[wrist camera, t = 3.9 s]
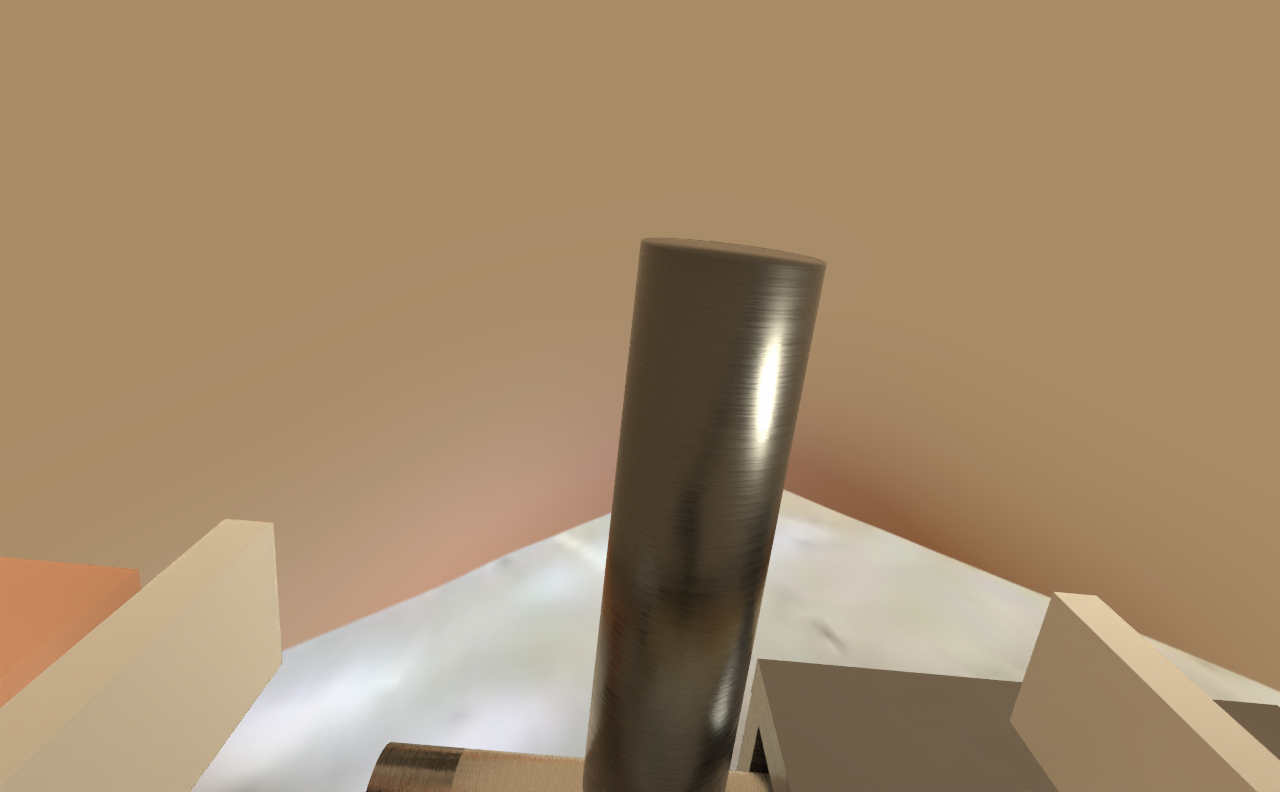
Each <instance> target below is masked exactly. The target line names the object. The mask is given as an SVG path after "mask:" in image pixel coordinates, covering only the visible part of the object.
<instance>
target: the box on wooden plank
mask: <svg viewBox="0 0 1280 792" xmlns="http://www.w3.org/2000/svg"><path fill="white" fill-rule="evenodd" d="M1021 685H1022V682H1012V681H1001V680H989V679H978V678H967V677H956V676H945V675H934V674H923V673H912V672H900V671H889V670H878V669H867V668H856V667H845V666H834V665H823V664H811V663H800V662H789V661H778V660H767V659H757V665H756V670H755V675H754V680H753V685H752V690H751V693H752V695H751V700H750V705H749V710H748V716H747V721H746V726H745V731H744V736H743V741H742V746H741V751H740V756H739V761H738V766H737V771H742V772H754V773H766V774H770V779H771V783H772V788H773V792H1059V791H1058V790H1057V788H1056V787H1055V785H1054V784H1053V783H1052V781H1051V780H1050V778H1049V777H1048V775H1047V774H1046V773H1045V771H1044V770H1043V768H1042V767H1041V765H1040V764H1039V763H1038V761H1037V760H1036V758H1035V757H1034V755H1033V754H1032V752H1031V751H1030V750H1029V748H1028V747H1027V745H1026V744H1025V742H1024V741H1023V740H1022V738H1021V737H1020V735H1019V734H1018V732H1017V731H1016V730H1015V728H1014V727H1013V725H1012V724H1011V722H1010V721H1009V720H1010V717H1011V714H1012V711H1013V708H1014V706H1015V703H1016V700H1017V697H1018V694H1019V691H1020V688H1021ZM1213 701H1214V702H1215V703H1216V704H1218V705H1219V706H1220V707H1221V708H1222V709H1223V710H1224V711H1225V712H1226V713H1228V714H1229V715H1230V716H1231V717H1232V718H1233V719H1234V720H1235V721H1236V722H1238V723H1239V724H1240V725H1241V726H1242V727H1243V728H1244V729H1245V730H1246V731H1248V732H1249V733H1250V734H1251V735H1252V736H1253V737H1254V738H1255V739H1257V740H1258V741H1259V742H1260V743H1261V744H1262V745H1263V746H1264V747H1265V748H1267V749H1268V750H1269V751H1270V752H1271V753H1272V754H1273V755H1274V756H1275V757H1277V758H1278V759H1279V760H1280V707H1279V706H1277V705H1267V704H1256V703H1245V702H1234V701H1223V700H1213Z"/></svg>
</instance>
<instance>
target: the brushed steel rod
mask: <svg viewBox="0 0 1280 792" xmlns="http://www.w3.org/2000/svg"><path fill="white" fill-rule="evenodd" d="M825 269H826V262H825V261H822V260H820V259H817V258H813V257H809V256H804V255H800V254H795V253H790V252H785V251H779V250H773V249H767V248H760V247H754V246H746V245H739V244H731V243H723V242H713V241H703V240H692V239H676V238H645V239H642V240H641V246H640V255H639V265H638V273H637V282H636V283H637V284H636V292H635V301H634V311H633V320H632V329H631V338H630V348H629V356H628V365H627V375H626V384H625V394H624V403H623V412H622V421H621V430H620V439H619V449H618V458H617V467H616V468H617V469H616V476H615V487H614V495H613V504H612V513H611V522H610V532H609V541H608V550H607V559H606V569H605V578H604V587H603V596H602V606H601V615H600V624H599V633H598V642H597V652H596V661H595V670H594V679H593V689H592V698H591V707H590V716H589V726H588V735H587V744H586V753H585V758H574V757H562V756H550V755H538V754H526V753H515V752H503V751H491V750H479V749H467V748H455V747H443V746H431V745H419V744H407V743H395V742H391V743H389V744H387V746H386V747H385V748H384V750H383V751H382V753H381V755H380V756H379V759H378V761H377V763H376V765H375V768H374V770H373V773H372V776H371V778H370V781H369V784H368V788H367V791H366V792H773V788H772V783H771V779H770V774H766V773H754V772H742V771H730V770H729V769H730V764H731V758H732V753H733V748H734V743H735V738H736V732H737V727H738V722H739V717H740V712H741V706H742V701H743V696H744V691H745V685H746V680H747V675H748V670H749V665H750V659H751V654H752V649H753V644H754V639H755V633H756V628H757V623H758V618H759V613H760V607H761V602H762V597H763V592H764V587H765V581H766V576H767V571H768V566H769V561H770V555H771V550H772V545H773V540H774V535H775V529H776V524H777V519H778V514H779V509H780V503H781V498H782V493H783V488H784V483H785V477H786V472H787V467H788V462H789V457H790V451H791V445H792V441H793V436H794V431H795V425H796V420H797V414H798V409H799V404H800V399H801V394H802V389H803V383H804V378H805V373H806V367H807V363H808V357H809V352H810V347H811V342H812V337H813V332H814V326H815V321H816V316H817V311H818V306H819V300H820V295H821V290H822V284H823V279H824V274H825Z"/></svg>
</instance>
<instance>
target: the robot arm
mask: <svg viewBox="0 0 1280 792" xmlns="http://www.w3.org/2000/svg"><path fill="white" fill-rule="evenodd" d="M278 606H279V605H278V590H277V574H276V559H275V545H274V528H273V523H267V522H256V521H244V520H233V519H224V520H223V521H222V522H221V523H219V524H218V525H217V526H216V527H215V528H214V529H212V530H211V531H210V532H209V533H208V534H206V535H205V536H204V537H203V538H202V539H201V540H199V541H198V542H197V543H196V544H195V545H194V546H192V547H191V548H190V549H189V550H187V551H186V552H185V553H184V554H183V555H181V556H180V557H179V558H178V559H177V560H176V561H174V562H173V563H172V564H171V565H170V566H168V567H167V568H166V569H165V570H164V571H162V572H161V573H160V574H159V575H158V576H156V577H155V578H154V579H153V580H152V581H151V582H149V583H148V584H147V585H146V586H145V587H143V588H142V589H141V590H140V591H139V592H137V593H136V594H135V595H134V596H133V597H132V598H130V599H129V600H128V601H127V602H126V603H124V604H123V605H122V606H121V607H120V608H118V609H117V610H116V611H115V612H114V613H113V614H111V615H110V616H109V617H108V618H107V619H105V620H104V621H103V622H102V623H101V624H99V625H98V626H97V627H96V628H95V629H93V630H92V631H91V632H90V633H89V634H88V635H86V636H85V637H84V638H83V639H82V640H80V641H79V642H78V643H77V644H76V645H74V646H73V647H72V648H71V649H70V650H69V651H67V652H66V653H65V654H64V655H63V656H61V657H60V658H59V659H58V660H57V661H55V662H54V663H53V664H52V665H51V666H50V667H48V668H47V669H46V670H45V671H44V672H42V673H41V674H40V675H39V676H38V677H36V678H35V679H34V680H33V681H32V682H30V683H29V684H28V685H27V686H26V687H25V688H23V689H22V690H21V691H20V692H19V693H17V694H16V695H15V696H14V697H13V698H11V699H10V700H9V701H8V702H7V703H6V704H4V705H3V706H2V707H1V708H0V792H190V791H191V790H192V788H193V787H194V785H195V784H196V783H197V781H198V780H199V779H200V777H201V776H202V774H203V773H204V772H205V770H206V769H207V767H208V766H209V765H210V763H211V762H212V760H213V759H214V758H215V756H216V755H217V753H218V752H219V751H220V749H221V748H222V746H223V745H224V744H225V742H226V741H227V739H228V738H229V737H230V735H231V734H232V733H233V731H234V730H235V728H236V727H237V726H238V724H239V723H240V721H241V720H242V719H243V717H244V716H245V714H246V713H247V712H248V710H249V709H250V707H251V706H252V705H253V703H254V702H255V700H256V699H257V698H258V696H259V695H260V693H261V692H262V691H263V689H264V688H265V687H266V685H267V684H268V682H269V681H270V680H271V678H272V677H273V675H274V674H275V673H276V671H277V670H278V668H279V667H280V666H281V664H282V651H281V636H280V621H279V607H278ZM1009 721H1010V722H1011V724H1012V725H1013V727H1014V728H1015V730H1016V731H1017V732H1018V734H1019V735H1020V737H1021V738H1022V740H1023V741H1024V742H1025V744H1026V745H1027V747H1028V748H1029V750H1030V751H1031V752H1032V754H1033V755H1034V757H1035V758H1036V760H1037V761H1038V763H1039V764H1040V765H1041V767H1042V768H1043V770H1044V771H1045V773H1046V774H1047V775H1048V777H1049V778H1050V780H1051V781H1052V783H1053V784H1054V785H1055V787H1056V788H1057V790H1058V791H1059V792H1280V760H1279V759H1278V758H1277V757H1275V756H1274V755H1273V754H1272V753H1271V752H1270V751H1269V750H1268V749H1267V748H1265V747H1264V746H1263V745H1262V744H1261V743H1260V742H1259V741H1258V740H1257V739H1255V738H1254V737H1253V736H1252V735H1251V734H1250V733H1249V732H1248V731H1246V730H1245V729H1244V728H1243V727H1242V726H1241V725H1240V724H1239V723H1238V722H1236V721H1235V720H1234V719H1233V718H1232V717H1231V716H1230V715H1229V714H1228V713H1226V712H1225V711H1224V710H1223V709H1222V708H1221V707H1220V706H1219V705H1218V704H1216V703H1215V702H1214V701H1213V700H1212V699H1211V698H1210V697H1209V696H1208V695H1206V694H1205V693H1204V692H1203V691H1202V690H1201V689H1200V688H1199V687H1198V686H1196V685H1195V684H1194V683H1193V682H1192V681H1191V680H1190V679H1189V678H1187V677H1186V676H1185V675H1184V674H1183V673H1182V672H1181V671H1180V670H1179V669H1177V668H1176V667H1175V666H1174V665H1173V664H1172V663H1171V662H1170V661H1169V660H1167V659H1166V658H1165V657H1164V656H1163V655H1162V654H1161V653H1160V652H1159V651H1157V650H1156V649H1155V648H1154V647H1153V646H1152V645H1151V644H1150V643H1149V642H1147V641H1146V640H1145V639H1144V638H1143V637H1142V636H1141V635H1140V634H1138V633H1137V632H1136V631H1135V630H1134V629H1133V628H1131V626H1130V625H1128V624H1127V623H1126V622H1125V621H1124V620H1123V619H1121V617H1119V616H1118V615H1117V614H1116V613H1115V612H1114V611H1113V610H1112V609H1110V607H1108V606H1107V605H1106V604H1105V603H1104V602H1103V601H1102V600H1100V599H1099V598H1098V597H1097V596H1094V595H1082V594H1071V593H1060V592H1053V595H1052V597H1051V600H1050V603H1049V606H1048V609H1047V612H1046V615H1045V618H1044V621H1043V624H1042V627H1041V630H1040V633H1039V635H1038V638H1037V641H1036V644H1035V647H1034V650H1033V653H1032V656H1031V659H1030V662H1029V665H1028V668H1027V671H1026V673H1025V676H1024V679H1023V682H1022V685H1021V688H1020V691H1019V694H1018V697H1017V700H1016V703H1015V706H1014V708H1013V711H1012V714H1011V717H1010V720H1009Z"/></svg>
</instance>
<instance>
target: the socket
mask: <svg viewBox="0 0 1280 792" xmlns="http://www.w3.org/2000/svg"><path fill="white" fill-rule="evenodd" d="M140 590H141V583H140V576H139V570H138V569H128V568H117V567H106V566H95V565H84V564H72V563H63V562H62V563H61V562H51V561H40V560H30V559H18V558H8V557H0V708H1V707H2V706H3V705H4V704H6V703H7V702H8V701H9V700H10V699H11V698H13V697H14V696H15V695H16V694H17V693H19V692H20V691H21V690H22V689H23V688H25V687H26V686H27V685H28V684H29V683H30V682H32V681H33V680H34V679H35V678H36V677H38V676H39V675H40V674H41V673H42V672H44V671H45V670H46V669H47V668H48V667H50V666H51V665H52V664H53V663H54V662H55V661H57V660H58V659H59V658H60V657H61V656H63V655H64V654H65V653H66V652H67V651H69V650H70V649H71V648H72V647H73V646H74V645H76V644H77V643H78V642H79V641H80V640H82V639H83V638H84V637H85V636H86V635H88V634H89V633H90V632H91V631H92V630H93V629H95V628H96V627H97V626H98V625H99V624H101V623H102V622H103V621H104V620H105V619H107V618H108V617H109V616H110V615H111V614H113V613H114V612H115V611H116V610H117V609H118V608H120V607H121V606H122V605H123V604H124V603H126V602H127V601H128V600H129V599H130V598H132V597H133V596H134V595H135V594H136V593H137V592H139V591H140Z"/></svg>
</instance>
